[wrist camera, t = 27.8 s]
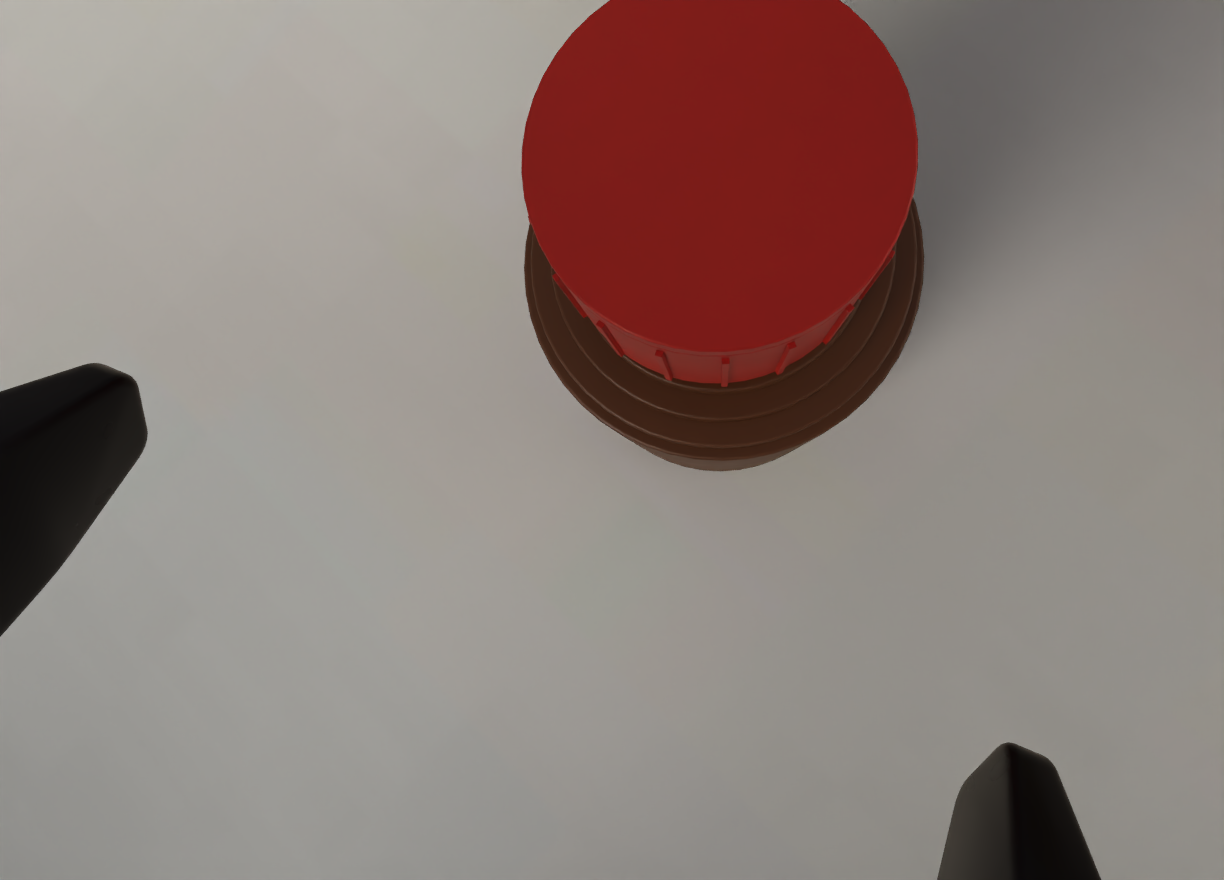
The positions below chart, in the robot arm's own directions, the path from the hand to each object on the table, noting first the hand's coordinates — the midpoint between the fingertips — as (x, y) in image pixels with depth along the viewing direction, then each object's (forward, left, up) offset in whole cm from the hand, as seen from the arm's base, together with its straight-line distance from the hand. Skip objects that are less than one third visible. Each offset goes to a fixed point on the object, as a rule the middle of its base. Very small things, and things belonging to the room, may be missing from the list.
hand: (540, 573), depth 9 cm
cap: (+3, +4, -4) cm, 6 cm away
